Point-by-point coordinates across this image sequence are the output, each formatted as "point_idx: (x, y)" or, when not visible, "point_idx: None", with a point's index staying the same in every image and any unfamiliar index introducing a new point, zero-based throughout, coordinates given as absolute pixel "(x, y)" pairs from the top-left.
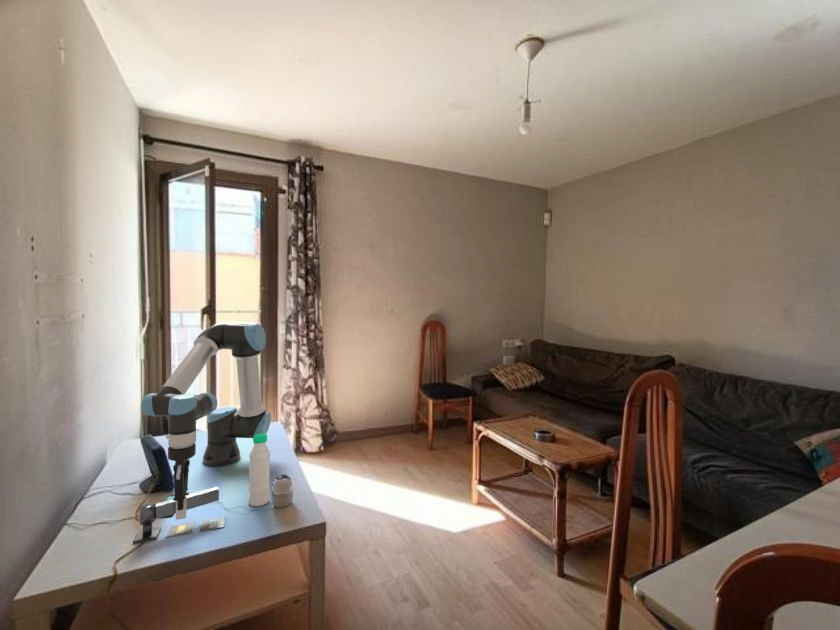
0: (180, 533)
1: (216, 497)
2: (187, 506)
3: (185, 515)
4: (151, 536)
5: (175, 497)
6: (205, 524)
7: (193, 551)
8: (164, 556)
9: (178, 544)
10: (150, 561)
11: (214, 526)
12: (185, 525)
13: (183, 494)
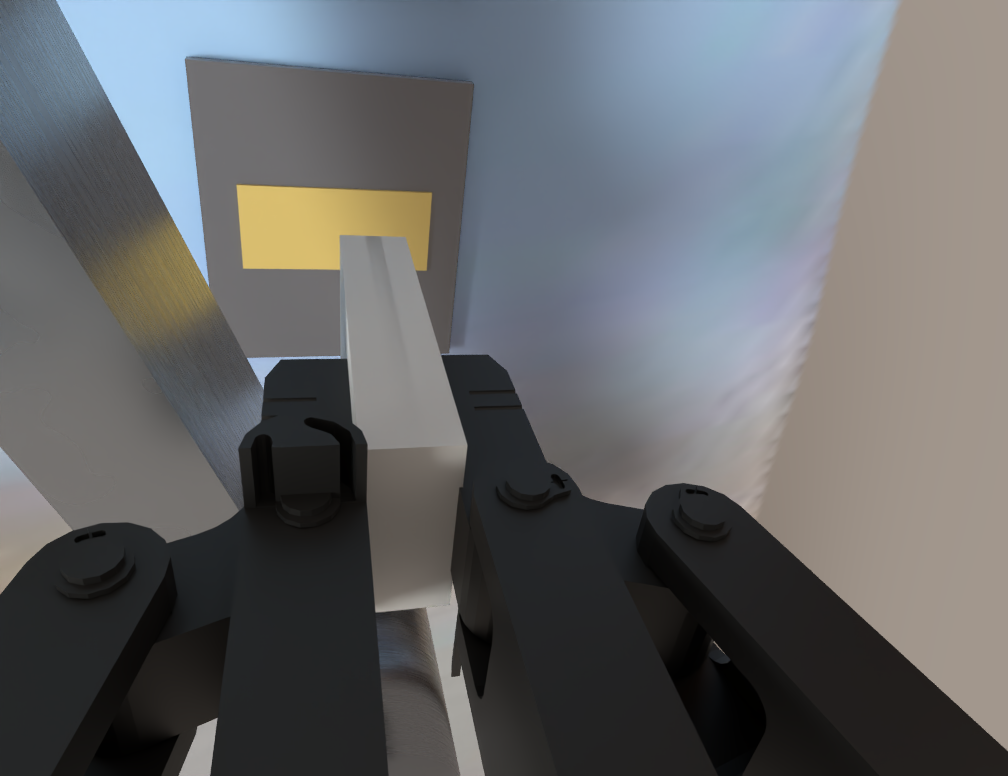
0: (440, 222)
1: None
2: (181, 279)
3: (408, 256)
4: None
5: (744, 693)
6: None
7: (849, 38)
8: (751, 299)
9: (629, 210)
10: (751, 384)
11: None
12: (261, 187)
13: (855, 614)
